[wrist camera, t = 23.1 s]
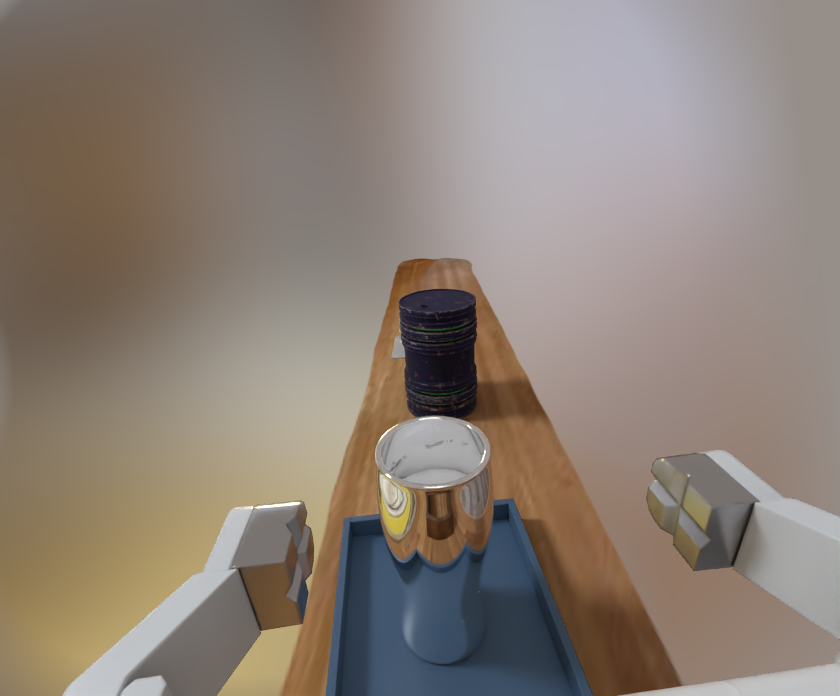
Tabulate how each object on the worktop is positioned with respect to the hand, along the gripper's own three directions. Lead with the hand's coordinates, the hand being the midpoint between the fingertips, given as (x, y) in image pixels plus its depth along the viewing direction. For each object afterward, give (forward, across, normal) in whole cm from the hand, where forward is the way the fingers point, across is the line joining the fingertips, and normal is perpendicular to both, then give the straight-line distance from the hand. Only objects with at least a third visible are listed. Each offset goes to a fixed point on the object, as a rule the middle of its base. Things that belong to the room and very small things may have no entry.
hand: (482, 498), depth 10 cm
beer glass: (+12, 0, +23) cm, 26 cm away
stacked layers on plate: (+63, -2, +24) cm, 67 cm away
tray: (+12, 0, +23) cm, 26 cm away
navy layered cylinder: (+42, -4, +23) cm, 48 cm away
